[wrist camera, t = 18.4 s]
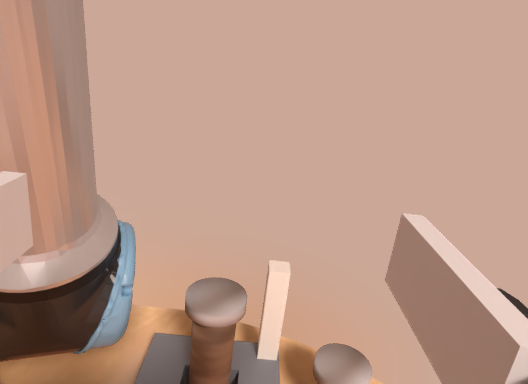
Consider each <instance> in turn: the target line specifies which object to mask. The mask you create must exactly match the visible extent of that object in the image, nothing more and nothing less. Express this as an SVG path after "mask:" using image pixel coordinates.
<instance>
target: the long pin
mask: <svg viewBox="0 0 528 384" xmlns="http://www.w3.org/2000/svg"><path fill="white" fill-rule="evenodd" d="M246 302H247V293H246V291H245V289H244V288H243V287H242V286H241V285H239V284H238V283H236V282H234V281H232V280H229V279H225V278H206V279H201V280H199V281H196V282H195V283H193V284H192V285H190V287H189V288H188V289H187V292H186V302H185V311H186V313H187V315H188V317H189V318H190V319H191V320H193V321H192V336H191V352H190V367H189V382H188V384H229V382H230V373H231V364H232V355H233V346H234V337H235V329H236V323H237V322H238V321H240V320H241V319H242V318H243V316H244V314H245V311H246Z"/></svg>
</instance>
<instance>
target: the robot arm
mask: <svg viewBox="0 0 528 384" xmlns="http://www.w3.org/2000/svg"><path fill="white" fill-rule="evenodd" d="M135 251H136V247H135V233H134V229H133V227H132V226H131V225H130V224H129V223H126V222H121V221H118V220H117V218H116V215H115V212H114V210H113V208H112V207H111V205H110V204H109V203H108V202H107V201H106V200H104V199H103V198H102V197H101V196H99V195H97V193H96V178H95V164H94V150H93V137H92V122H91V108H90V94H89V80H88V67H87V52H86V38H85V24H84V10H83V0H0V362H2V361H9V360H17V359H24V358H32V357H39V356H47V355H54V354H62V353H71V352H73V353H75V354H80V353H84V352H86V351H87V350H90V349H96V348H101V347H106V346H110V345H113V344H115V343H116V342H117V341H119V340H120V339H121V337H122V336H123V335H124V333H125V331H126V328H127V325H128V321H129V316H130V311H131V304H132V287H133V281H134V276H135ZM385 281H386V283H387V284H388V286H389V288H390V290H391V292H392V293H393V295H394V297H395V299H396V301H397V302H398V304H399V306H400V308H401V310H402V312H403V313H404V315H405V317H406V319H407V320H408V323H409V325H410V326H411V328H412V330H413V332H414V334H415V335H416V337H417V339H418V341H419V343H420V344H421V346H422V348H423V350H424V352H425V354H426V355H427V357H428V359H429V361H430V363H431V365H432V366H433V368H434V370H435V372H436V374H437V376H438V377H439V379H440V381H441V383H442V384H528V308H526V307H525V306H524V305H523V304H522V303H521V302H520V301H519V300H518V299H516V298H514V297H513V296H511V295H510V294H508V293H506V292H505V291H503V290H502V289H498V288H496V287H495V286H494V285H493V284H492V283H491V282H490V281H489V280H488V279H487V278H486V277H484V276H483V275H482V274H481V272H480V271H478V269H477V268H476V267H474V266H473V264H472V263H470V262H469V261H468V260H467V259H466V258H465V257H464V256H463V255H462V254H461V253H460V252H459V251H458V250H457V249H456V248H455V247H454V246H453V245H452V244H451V243H450V242H449V241H448V240H447V239H446V238H445V237H444V236H443V235H442V234H441V233H440V232H439V231H438V230H437V229H436V228H435V227H434V226H433V225H432V224H431V223H430V222H429V221H428V220H427V219H426V218H425V217H424V216H423V215H414V214H404V213H402V215H401V219H400V224H399V227H398V231H397V235H396V239H395V243H394V247H393V251H392V255H391V259H390V262H389V266H388V270H387V274H386V279H385Z"/></svg>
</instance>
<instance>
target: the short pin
mask: <svg viewBox="0 0 528 384" xmlns="http://www.w3.org/2000/svg"><path fill="white" fill-rule="evenodd" d="M313 374H314V377H315V379H316V381H317V382H318V383H317V384H370V380H371V376H372V368H371V365H370V363H369V361H368V360H367V359H366V357H365V356H364V355H363V354H362V353H360V352H359V351H358V350H356V349H354V348H352V347H350V346H347V345H343V344H337V343H336V344H335V343H333V344H327V345H324V346H322V347H321V348H320V349H319V350H318V351H317V353H316V356H315V360H314V365H313Z"/></svg>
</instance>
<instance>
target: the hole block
mask: <svg viewBox="0 0 528 384" xmlns="http://www.w3.org/2000/svg"><path fill="white" fill-rule="evenodd" d="M290 274H291V272H290V263H289V262H282V261H272V260H269V266H268V274H267V281H266V289H265V295H264V303H263V310H262V317H261V324H260V332H259V339H258V343H253V342H243V341H234V346H233V355H232V364H231V373H230V382H229V384H280V375H279V342H280V336H281V330H282V323H283V317H284V311H285V305H286V299H287V293H288V286H289V280H290ZM190 352H191V336H183V335H173V334H163V333H155V334H154V337H153V339H152V342H151V344H150V347H149V349H148V352H147V354H146V357H145V359H144V362H143V364H142V367H141V369H140V372H139V374H138V377H137V379H136V382H135V384H188V382H189V367H190Z"/></svg>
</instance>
